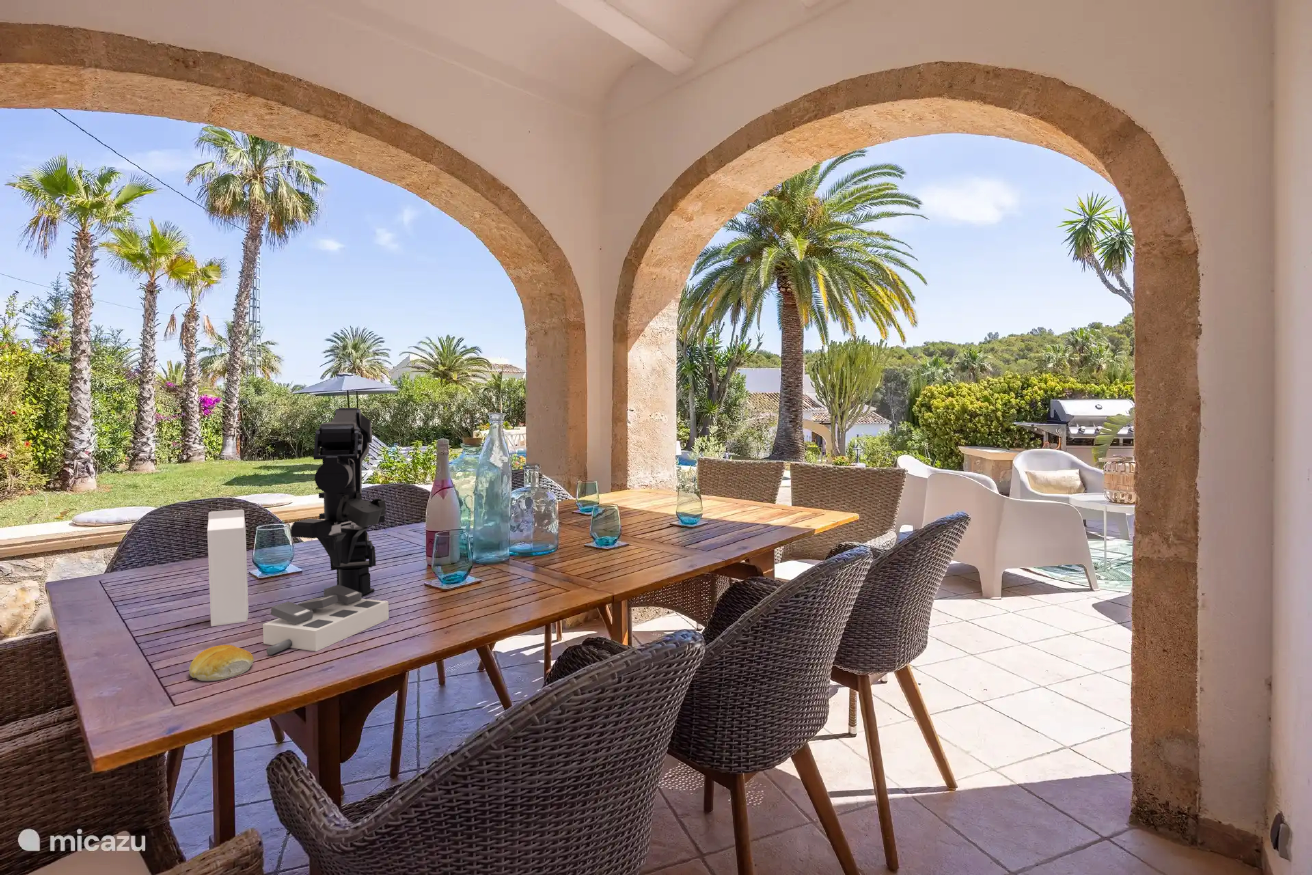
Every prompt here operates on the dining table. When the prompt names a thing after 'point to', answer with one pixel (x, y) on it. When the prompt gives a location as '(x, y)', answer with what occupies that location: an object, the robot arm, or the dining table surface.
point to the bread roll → (220, 663)
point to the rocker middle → (319, 602)
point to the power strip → (325, 626)
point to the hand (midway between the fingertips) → (341, 565)
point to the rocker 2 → (343, 594)
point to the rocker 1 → (291, 612)
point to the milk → (227, 567)
